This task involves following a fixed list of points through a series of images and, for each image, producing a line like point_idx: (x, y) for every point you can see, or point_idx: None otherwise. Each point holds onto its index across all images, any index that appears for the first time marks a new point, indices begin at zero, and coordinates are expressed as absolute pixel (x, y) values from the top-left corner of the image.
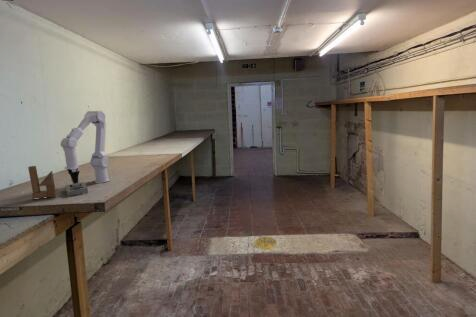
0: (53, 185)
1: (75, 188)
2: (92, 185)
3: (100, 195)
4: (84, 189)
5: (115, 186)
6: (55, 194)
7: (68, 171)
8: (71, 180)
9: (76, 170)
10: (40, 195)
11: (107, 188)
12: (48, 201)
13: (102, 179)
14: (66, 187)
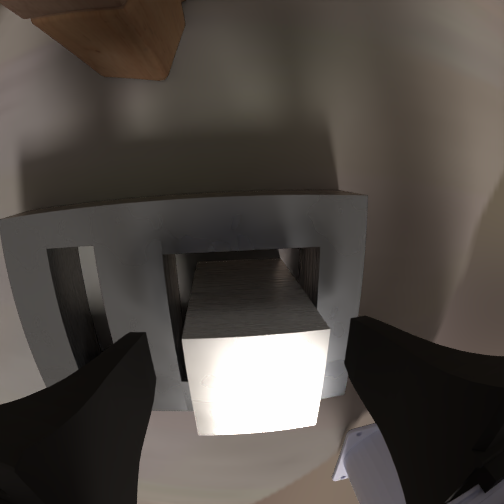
0: (55, 26)
1: (107, 309)
2: (324, 410)
3: (4, 402)
4: (45, 372)
5: (171, 493)
6: (126, 73)
7: (477, 387)
8: (194, 333)
9: (409, 490)
10: None
11: (146, 468)
12: (19, 54)
13: (350, 470)
14: (213, 203)
